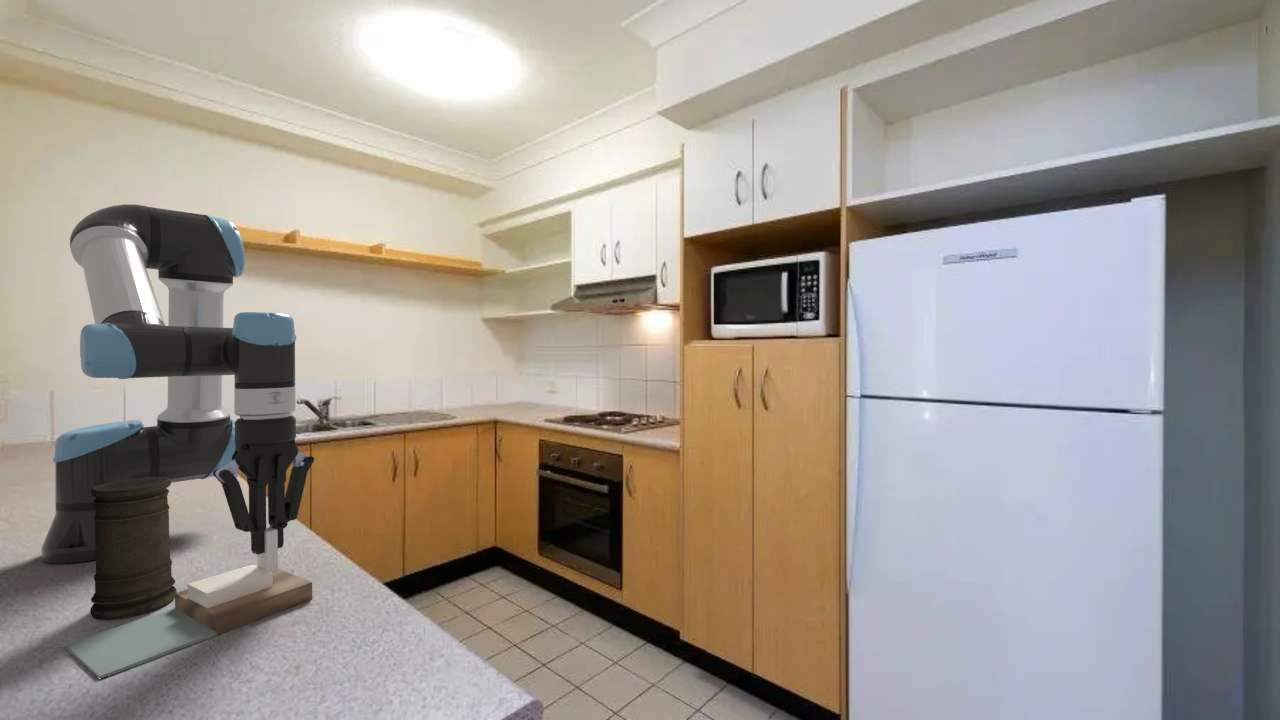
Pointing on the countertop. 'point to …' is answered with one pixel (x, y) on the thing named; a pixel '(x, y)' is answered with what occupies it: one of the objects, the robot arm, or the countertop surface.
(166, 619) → the mat
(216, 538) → the countertop surface
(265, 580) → the block
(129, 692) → the countertop surface
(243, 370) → the robot arm
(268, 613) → the board
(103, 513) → the container
